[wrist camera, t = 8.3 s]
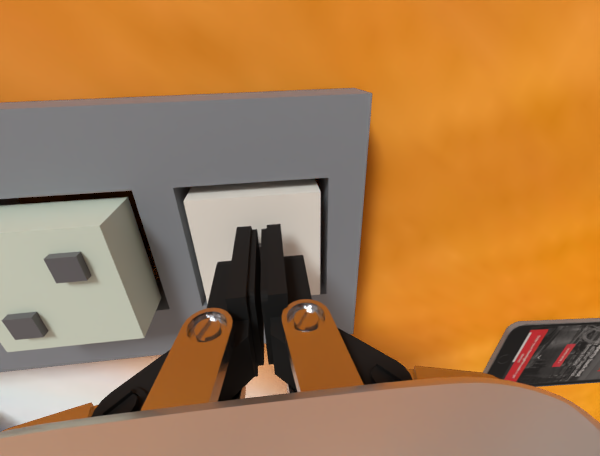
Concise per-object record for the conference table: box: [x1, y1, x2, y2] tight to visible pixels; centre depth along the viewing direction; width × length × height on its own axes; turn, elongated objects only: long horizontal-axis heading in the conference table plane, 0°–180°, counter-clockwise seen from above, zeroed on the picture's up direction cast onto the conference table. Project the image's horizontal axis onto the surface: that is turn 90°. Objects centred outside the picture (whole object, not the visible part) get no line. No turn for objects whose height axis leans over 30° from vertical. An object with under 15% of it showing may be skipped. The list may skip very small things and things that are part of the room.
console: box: [0, 88, 372, 372], centre depth 14 cm, size 24×12×2 cm, turn 92°
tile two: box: [0, 197, 161, 352], centre depth 12 cm, size 5×5×3 cm
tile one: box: [183, 178, 321, 304], centre depth 14 cm, size 5×5×3 cm
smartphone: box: [483, 318, 600, 387], centre depth 24 cm, size 7×1×15 cm
